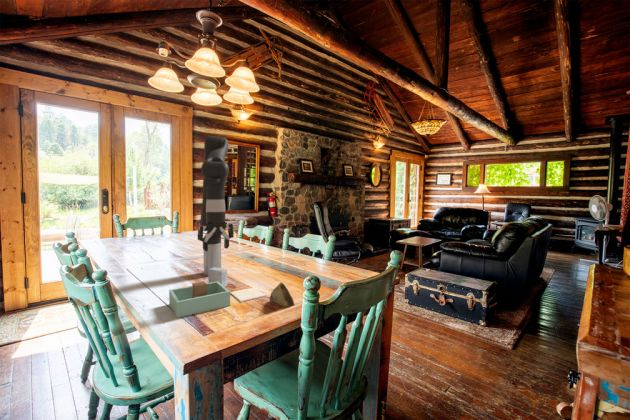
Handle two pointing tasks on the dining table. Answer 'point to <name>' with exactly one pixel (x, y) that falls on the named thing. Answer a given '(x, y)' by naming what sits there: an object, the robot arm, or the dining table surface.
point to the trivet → (248, 294)
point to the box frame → (198, 299)
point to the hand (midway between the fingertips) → (216, 249)
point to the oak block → (199, 289)
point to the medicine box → (218, 275)
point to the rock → (282, 296)
